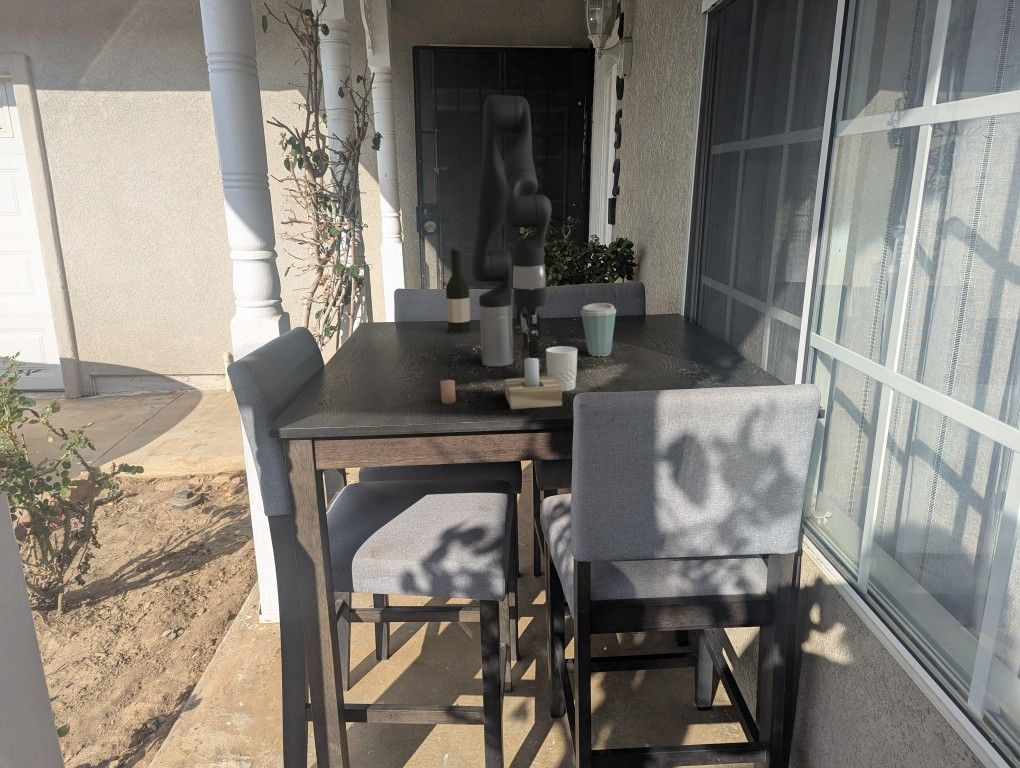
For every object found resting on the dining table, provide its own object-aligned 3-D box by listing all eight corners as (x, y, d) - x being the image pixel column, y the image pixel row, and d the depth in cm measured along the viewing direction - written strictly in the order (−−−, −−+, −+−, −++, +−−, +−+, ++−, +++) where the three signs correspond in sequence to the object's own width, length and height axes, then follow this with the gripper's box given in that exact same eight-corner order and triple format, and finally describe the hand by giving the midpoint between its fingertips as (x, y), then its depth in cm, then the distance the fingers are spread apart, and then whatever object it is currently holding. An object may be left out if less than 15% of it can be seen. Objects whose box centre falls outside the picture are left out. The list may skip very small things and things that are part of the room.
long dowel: (524, 398, 173) (523, 358, 170) (538, 397, 173) (537, 357, 170) (526, 402, 169) (525, 361, 167) (540, 401, 170) (539, 360, 167)
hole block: (504, 395, 176) (504, 379, 175) (552, 391, 178) (552, 376, 176) (511, 409, 165) (510, 392, 164) (562, 405, 166) (561, 389, 165)
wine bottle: (446, 331, 261) (441, 247, 253) (468, 328, 263) (464, 246, 255) (451, 335, 253) (446, 249, 245) (473, 332, 255) (469, 248, 247)
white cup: (575, 383, 185) (575, 345, 182) (579, 391, 177) (579, 352, 174) (545, 384, 184) (544, 347, 182) (548, 392, 177) (547, 353, 174)
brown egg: (441, 400, 174) (440, 380, 173) (455, 399, 174) (454, 379, 173) (441, 403, 171) (440, 383, 170) (456, 402, 171) (454, 382, 170)
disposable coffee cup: (615, 358, 209) (615, 308, 205) (578, 358, 211) (578, 308, 208) (617, 350, 219) (617, 302, 215) (582, 350, 221) (582, 302, 218)
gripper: (509, 281, 170) (511, 347, 175) (517, 290, 157) (519, 361, 161) (540, 280, 171) (541, 345, 175) (551, 288, 157) (551, 359, 162)
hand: (530, 353), depth 168 cm, fingers open, 8 cm apart
